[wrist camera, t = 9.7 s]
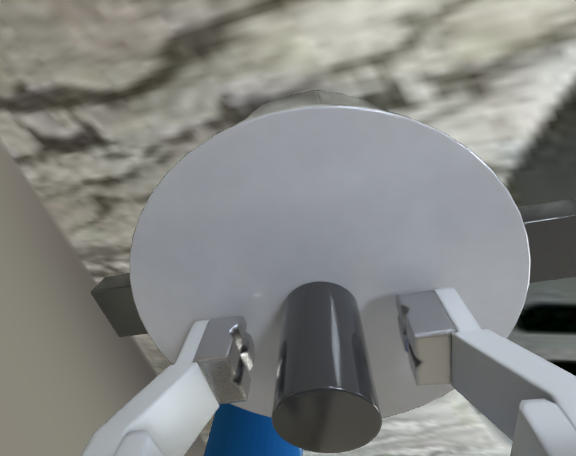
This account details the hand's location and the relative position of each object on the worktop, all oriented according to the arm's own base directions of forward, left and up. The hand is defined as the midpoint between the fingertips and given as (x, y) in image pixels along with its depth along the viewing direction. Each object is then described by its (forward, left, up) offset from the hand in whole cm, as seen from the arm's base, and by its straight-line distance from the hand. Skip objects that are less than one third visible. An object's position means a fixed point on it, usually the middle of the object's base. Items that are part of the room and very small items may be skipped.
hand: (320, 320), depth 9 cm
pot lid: (0, 0, -1) cm, 1 cm away
